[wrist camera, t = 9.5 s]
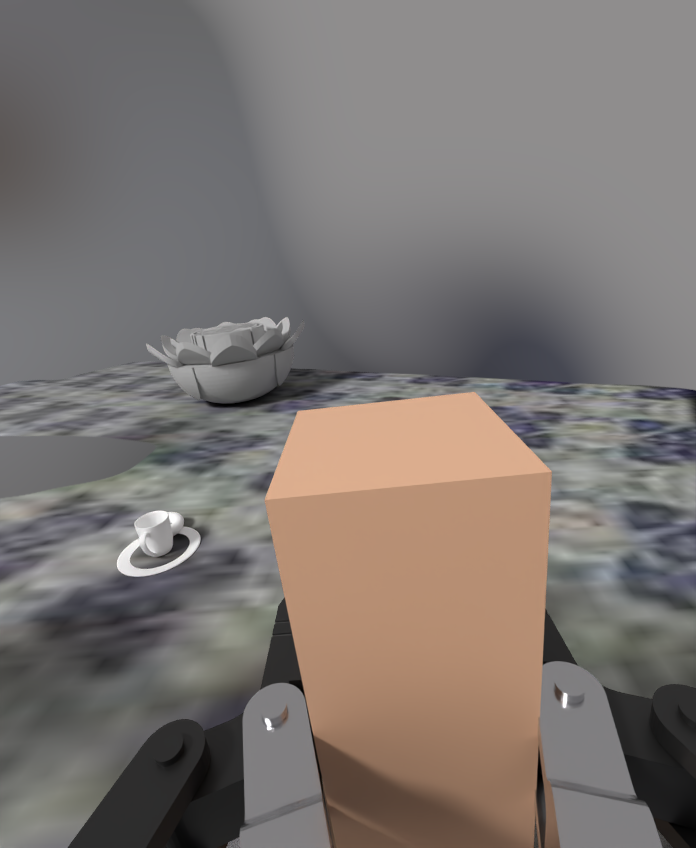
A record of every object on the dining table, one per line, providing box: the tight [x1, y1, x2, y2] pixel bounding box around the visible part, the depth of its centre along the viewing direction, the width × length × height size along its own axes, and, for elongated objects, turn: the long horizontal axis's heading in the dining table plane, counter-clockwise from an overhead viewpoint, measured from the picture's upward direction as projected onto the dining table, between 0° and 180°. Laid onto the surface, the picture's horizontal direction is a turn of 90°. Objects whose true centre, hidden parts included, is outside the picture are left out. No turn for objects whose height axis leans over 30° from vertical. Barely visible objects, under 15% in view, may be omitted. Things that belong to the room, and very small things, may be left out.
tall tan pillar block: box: [265, 392, 552, 848], centre depth 11 cm, size 5×4×14 cm
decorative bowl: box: [146, 317, 304, 403], centre depth 92 cm, size 30×30×15 cm
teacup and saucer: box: [117, 511, 201, 577], centre depth 44 cm, size 9×8×4 cm
